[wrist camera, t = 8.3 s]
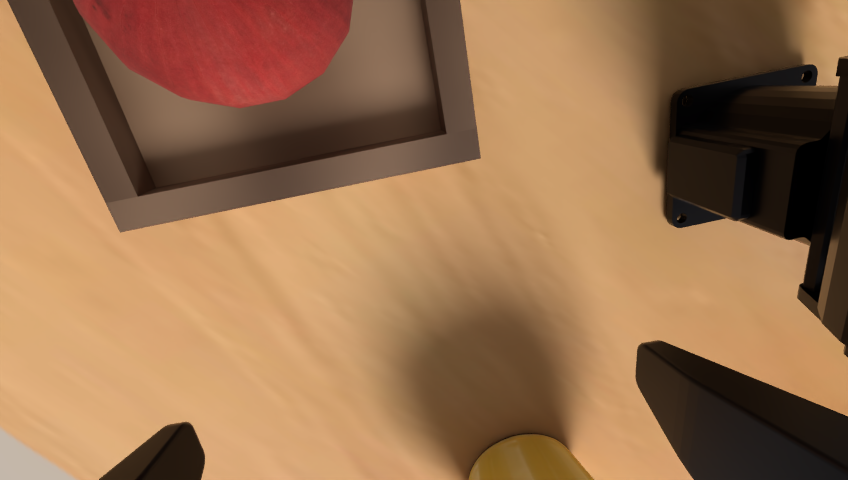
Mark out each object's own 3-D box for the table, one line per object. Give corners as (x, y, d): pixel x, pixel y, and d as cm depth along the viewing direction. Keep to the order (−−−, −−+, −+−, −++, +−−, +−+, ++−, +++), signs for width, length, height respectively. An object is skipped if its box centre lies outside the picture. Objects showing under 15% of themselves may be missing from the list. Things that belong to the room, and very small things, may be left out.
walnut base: (400, -221, 14) (412, -358, 10) (455, 139, 18) (480, 158, 14) (36, -159, 14) (-126, -273, 9) (181, 195, 18) (119, 232, 14)
